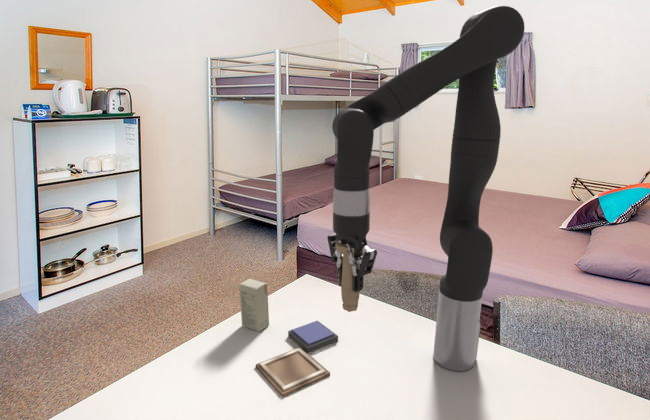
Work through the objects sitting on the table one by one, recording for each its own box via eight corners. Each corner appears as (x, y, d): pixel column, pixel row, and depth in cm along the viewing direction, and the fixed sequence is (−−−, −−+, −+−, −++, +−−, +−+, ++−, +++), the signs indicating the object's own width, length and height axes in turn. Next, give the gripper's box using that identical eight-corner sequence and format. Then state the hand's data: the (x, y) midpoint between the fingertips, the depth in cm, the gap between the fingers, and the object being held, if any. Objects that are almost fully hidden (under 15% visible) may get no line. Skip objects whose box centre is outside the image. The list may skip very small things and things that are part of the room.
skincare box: (269, 325, 113) (268, 283, 110) (258, 332, 110) (257, 289, 107) (251, 318, 117) (250, 277, 113) (240, 325, 113) (238, 283, 110)
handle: (363, 316, 90) (364, 249, 86) (333, 312, 91) (333, 246, 87) (366, 305, 94) (367, 241, 90) (337, 302, 96) (338, 238, 92)
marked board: (300, 349, 103) (300, 345, 103) (330, 375, 94) (330, 371, 93) (255, 366, 96) (255, 362, 96) (282, 396, 87) (282, 392, 87)
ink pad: (317, 325, 114) (317, 318, 113) (338, 341, 106) (338, 334, 106) (288, 336, 108) (288, 329, 108) (308, 353, 101) (308, 345, 101)
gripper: (389, 214, 83) (386, 294, 88) (344, 199, 94) (343, 271, 99) (360, 220, 79) (358, 304, 84) (316, 205, 90) (317, 279, 95)
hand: (350, 286), depth 91 cm, fingers closed on handle, 4 cm apart
